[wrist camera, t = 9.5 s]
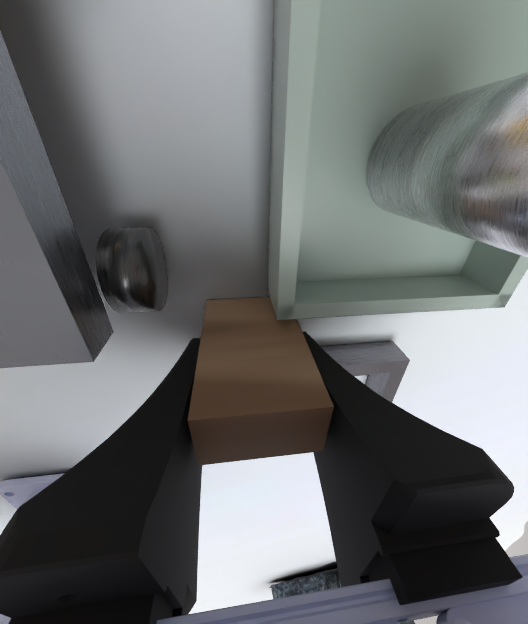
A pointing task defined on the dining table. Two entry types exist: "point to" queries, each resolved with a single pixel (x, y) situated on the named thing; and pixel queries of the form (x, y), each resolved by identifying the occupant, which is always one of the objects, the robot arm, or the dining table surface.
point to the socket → (373, 364)
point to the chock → (255, 386)
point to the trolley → (58, 254)
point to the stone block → (310, 585)
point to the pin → (459, 164)
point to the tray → (357, 146)
